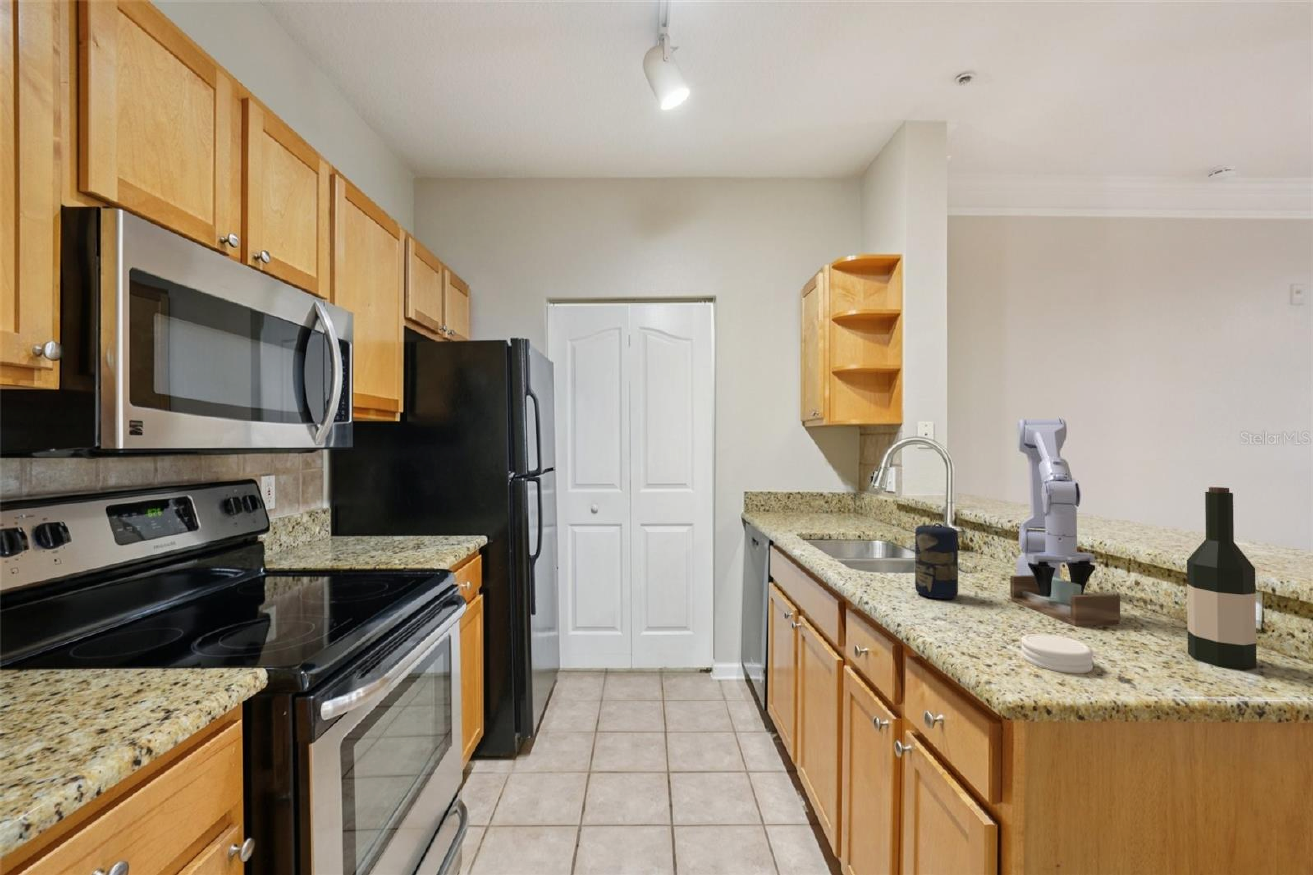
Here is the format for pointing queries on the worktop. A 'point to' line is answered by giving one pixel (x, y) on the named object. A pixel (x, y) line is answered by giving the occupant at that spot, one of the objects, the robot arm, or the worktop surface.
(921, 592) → the canister
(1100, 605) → the track base
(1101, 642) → the worktop surface
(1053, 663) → the coaster
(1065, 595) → the door panel
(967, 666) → the worktop surface
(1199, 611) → the wine bottle
